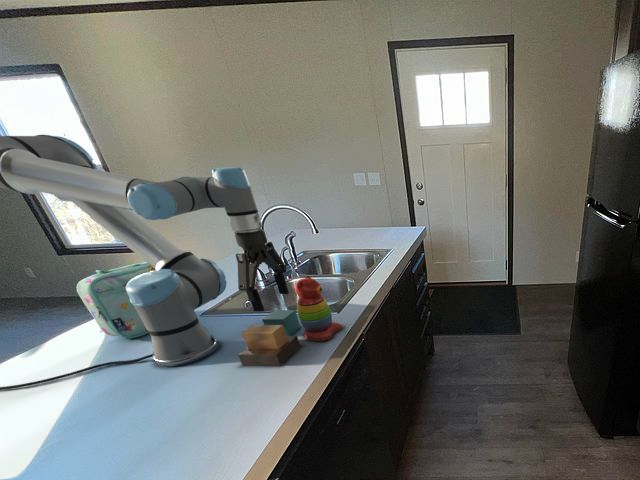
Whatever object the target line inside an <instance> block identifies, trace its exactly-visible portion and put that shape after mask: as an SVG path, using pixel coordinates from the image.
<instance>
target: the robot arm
mask: <svg viewBox="0 0 640 480" xmlns="http://www.w3.org/2000/svg"><path fill="white" fill-rule="evenodd" d="M211 173H212V176H194V177H193V176H182V177H181V176H180V177H175V178H173V179H172V180H163V181H153V180H149V179H143V178H139V177H134V176H129V175H125V174H120V173H116V172H111V171H105V170H101V169H98V166H97V164H96V163H94V158H93V157H92V155H91V154H90V153H89V152H88V151H87V150H86V149H85V148H84V147H83V146H82V145H80V144H78V143H77V142H75V141H73V140H72V139H69V138H66V137H64V136H57V135H50V134H37V135H0V188H2V189H4V190H7V191H12V192H16V193H22V194H26V195H37V194H40V193H44V194H49V195H53V196H54V197H56V198H57V199H58V200H60V201H63V202H71V203H73V204H74V205H75V206H76V207H77V208H79V209H80V210H81V211H82V212H84V213H85V214H86V215H88V216H89V217H90V218H91V219H92V220H94V222H96V223H97V224H99V226H101V227H103V228H104V229H105V230H106V231H107V232H109V233H110V234H111V235H112V236H114V237H115V238H116V239H117V240H119V242H121V243H122V244H123V245H125V246H126V247H127V248H128V249H130V250H131V251H132V252H134V253H135V254H136V255H137V256H139V257H140V258H141V259H142V260H143V261H144V262H147V263H148V264H150V265H151V266H152V267H153V268H155V270H154V271H150V272H148V273H144V274H141V275H139V276H137V277H135V278H133V279H131V280H130V281H129V282H128V283H127V285H126V291H127V293H128V295H129V298H130V302H131V303H132V304H133V306H134V307H135V309H136V311H137V312H138V314H139V316H140V318H141V319H142V321H143V323H144V325H145V327H146V328H147V330H148V332H149V333H148V334H149V335H150V338H151V344H152V350H153V352H152V353H151V354H147V355H145V356H141V357H139V358H134V359H129V360H118V361H117V360H116V361H108V362H103V363H99V364H96V365H92V366H91V365H90V366H88V367H86V368H81V369H78V370H75V371H72V372H68V373H65V374H60V375H57V376H53V377H48V378H45V379H41V380H36V381H30V382H26V383H20V384H14V385H7V386H0V391H2V390H11V389H17V388H24V387H29V386H34V385H40V384H43V383H47V382H52V381H55V380H59V379H63V378H66V377H67V378H68V377H71V376H74V375H78V374H80V373H84V372H87V371H91V370H94V369H97V368H101V367H105V366H110V365H119V364H121V365H122V364H132V363H137V362H141V361H143V360H146V359H149V358H153V360H154V361H155V363H156V364H157V366H161V367H179V366H184V365H187V364H192V363H194V362H196V361H199V360H202V359H204V358H206V357H208V356H209V355H211V354H213V353H214V352H215V351H216V350H217V349H218V346H219V344H218V341H217V339H216V337H214V336H213V335H212V334H211V333H210V332H209V331H208V330H207V329H206V328H205V327H204V326H203V325H202V324H201V322H200V320H199V318H198V316H197V314H196V312H195V310H197V309H199V308H201V307H202V306H204V305H205V304H207V303H209V302H211V301H214V300H216V299H217V298H218V297H219V296H220V295H223V293H224V292H225V290H226V288H227V280H226V279H227V277H226V274H225V272H224V270H223V269H222V267H221V266H220V265H219V264H217V263H216V262H215V261H213V260H211V259H209V258H207V259H206V258H198V257H197V256H196V255H195V254H194V253H192V251H190V250H183V249H182V250H181V249H180V248H179V247H178V246H176V245H175V244H174V243H173V242H172V241H170V240H169V239H168V238H167V237H166V236H165V235H163V233H161V232H160V231H159V230H157V229H156V228H155V227H154V226H153V225H152V224H150V223H149V222H148V221H147V220H149V221H157V220H167V219H170V218H172V217H176V216H180V215H183V214H188V213H192V212H196V211H200V210H204V209H217V208H218V209H220V208H221V209H222V208H223V209H224V211H225V213H226V215H227V219H228V222H229V225H230V227H231V230H232V231H234V233H233V236H234V238H235V241H236V244H237V246H238V247H240V248H242V253H236V254H235V259H236V262H237V285H238V287H237V288H238V290H239V291H243V292H244V291H245V293H246V296H247V297H248V301H249V302H250V304H251V307H252V309H253V311H254V312H264V311H265V308H264V305H263V302H262V299H261V296H260V293H259V291H258V288H255V287H256V281H257V273H258V269H259V268H260V265H262V264H263V263H264V264H265V265H266V266H267V267H268V268H269V269H270V270H271V271H273V272H274V273H273V277H274V281H275V283H276V287H277V290H278V293H279V295H289V294H290V292H289V289H288V286H287V282H286V278H285V274H286V273H287V265H286V264H285V262H284V261H283V259H282V257H281V256H280V255H279V253H278V252H277V250H276V249H275V245H274V244H273V242H272V241H268V238H267V234H266V232H265V229H263V223H262V219H261V216H260V213H259V210H258V208H257V207H258V206H257V204H256V201H255V197H254V195H253V194H254V193H253V190H252V185H251V183H250V180H249V178H248V176H247V173H246V171H245V169H244V168H242V167H240V166H232V167H231V166H230V167H229V166H228V167H215V168H213V169H212V170H211Z"/></svg>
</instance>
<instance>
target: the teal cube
mask: <svg viewBox="0 0 640 480" xmlns="http://www.w3.org/2000/svg"><path fill="white" fill-rule="evenodd" d="M261 321H262V324H263V325H283V327H284V330H285V333H286V336H293V335H294V334H295V333H296V332H297V331H298V330H299V329H300V328H301V322H300V320H299V318H298V313H297V312H296V309H274V310H273V311H271V312H269V314H267V315H266V316H265V317H263V318H262V319H261Z"/></svg>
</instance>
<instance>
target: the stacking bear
mask: <svg viewBox="0 0 640 480" xmlns="http://www.w3.org/2000/svg"><path fill="white" fill-rule="evenodd" d="M294 291H295V293H296V295H297V296H298V297H299V298H298V301H297V304H296V309H297V312H296V313H297V317H298V320H299V323H300V325H301V326H302V327H303V329H304V337H305V338H306V339H308V340H309V341H313V342H326V341H329V340H330V339H332V336H333V334H335V333H336V332H338V331H341V330H342V329H343V326H342V324H341V323H340V322H336V321H333V316H332V310H331V308H330V305H329V303H328V301H327V300H326V299H325V297H324V295H322V292H323V286H322V284H321V283H319V281H317V280H316V279H314V278H312V277H311V276H310V275H306V276H305V277H304V278H300V279H298V280H297V281H296V283H295V285H294Z"/></svg>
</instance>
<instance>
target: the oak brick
mask: <svg viewBox="0 0 640 480" xmlns="http://www.w3.org/2000/svg"><path fill="white" fill-rule="evenodd" d="M241 335H242V338H243V340H244V343H245V345H246V348H248V349H280V348H281V347H282V346H283V345H284V344H285V343H286V342H287V341H288V339H287V336H286V333H285V330H284V327H283V325H264V324H253V325H251V326H249V327H248V328H246V329H245V330H243V331H242V332H241Z"/></svg>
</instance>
